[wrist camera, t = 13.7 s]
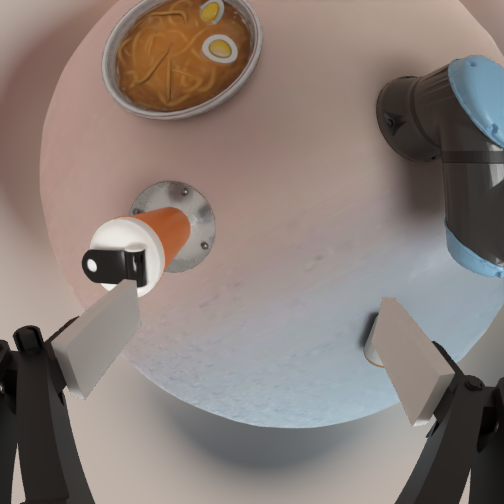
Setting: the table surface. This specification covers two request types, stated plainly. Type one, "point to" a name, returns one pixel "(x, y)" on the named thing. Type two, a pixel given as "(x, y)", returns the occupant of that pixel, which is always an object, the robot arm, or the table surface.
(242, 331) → the table surface
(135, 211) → the flange
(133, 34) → the bowl
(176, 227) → the shaker bottle
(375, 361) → the ceramic mug
